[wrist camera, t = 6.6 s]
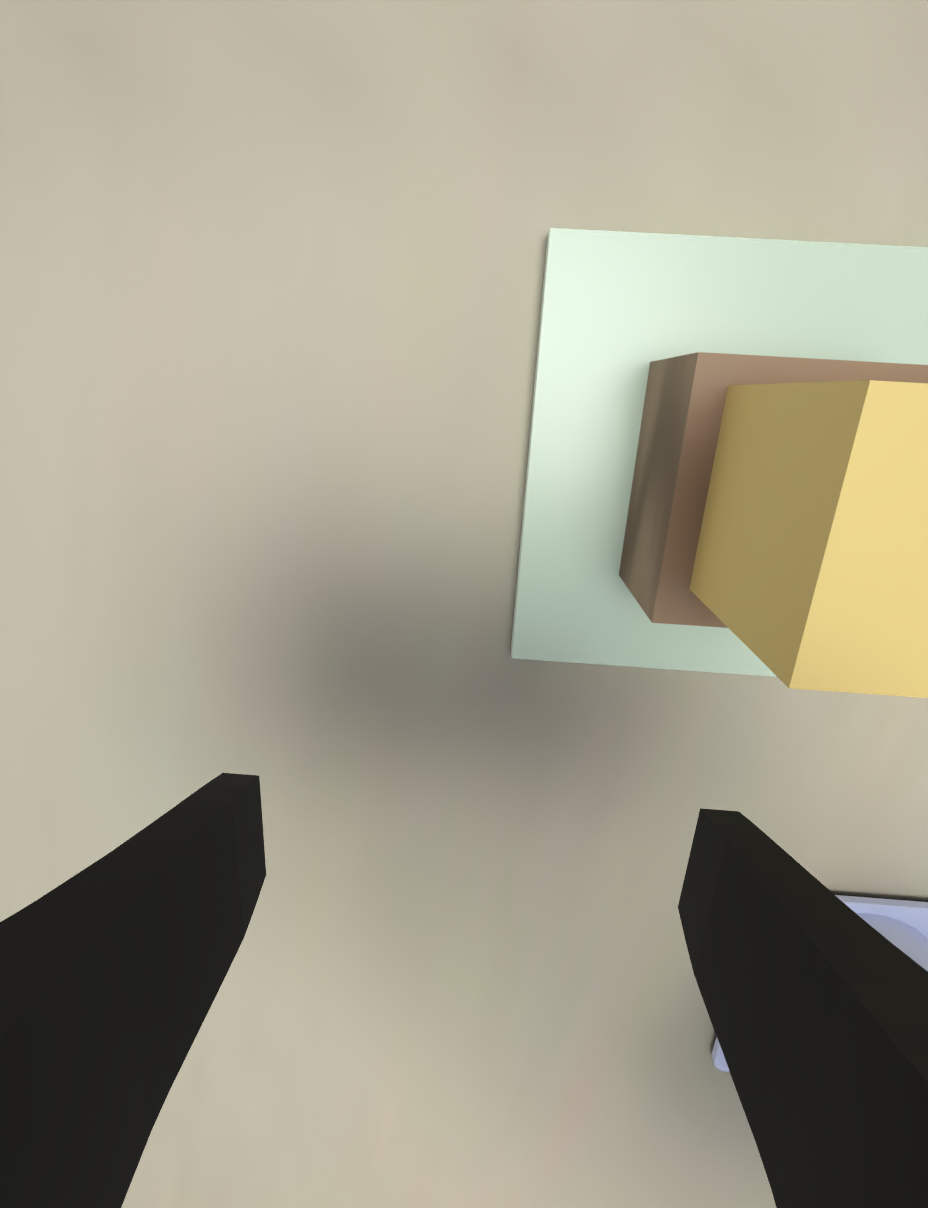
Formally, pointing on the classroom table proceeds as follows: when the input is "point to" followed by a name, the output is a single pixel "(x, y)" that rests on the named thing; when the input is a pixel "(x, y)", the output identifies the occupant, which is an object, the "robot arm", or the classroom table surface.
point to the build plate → (617, 392)
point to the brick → (822, 533)
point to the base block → (700, 464)
